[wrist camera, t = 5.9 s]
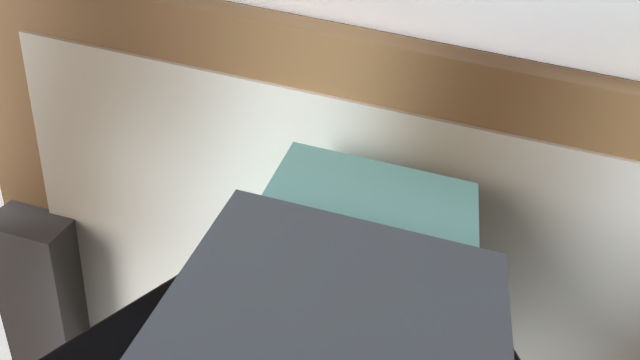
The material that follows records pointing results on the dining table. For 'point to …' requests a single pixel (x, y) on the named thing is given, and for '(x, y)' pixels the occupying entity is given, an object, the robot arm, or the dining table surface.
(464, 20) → the dining table surface
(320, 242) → the grey and teal block
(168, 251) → the square wooden frame
